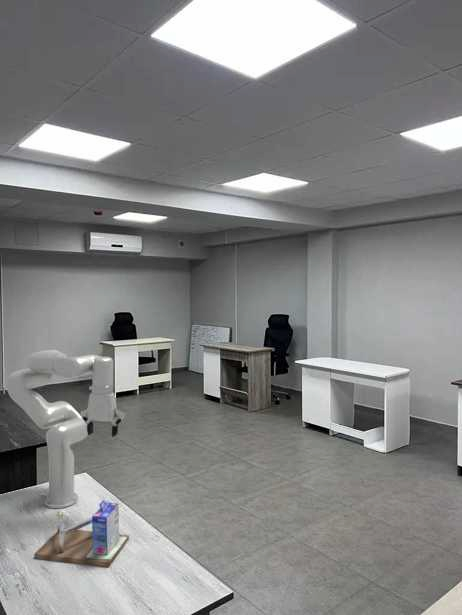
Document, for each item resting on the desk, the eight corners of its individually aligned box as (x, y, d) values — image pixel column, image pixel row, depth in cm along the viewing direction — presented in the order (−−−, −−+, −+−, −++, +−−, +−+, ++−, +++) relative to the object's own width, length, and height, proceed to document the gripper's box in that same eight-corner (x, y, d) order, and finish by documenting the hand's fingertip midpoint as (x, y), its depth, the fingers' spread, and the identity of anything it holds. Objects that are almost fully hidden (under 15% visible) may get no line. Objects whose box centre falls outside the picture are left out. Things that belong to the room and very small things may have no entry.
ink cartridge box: (104, 537, 155) (104, 495, 154) (119, 538, 154) (120, 496, 154) (91, 553, 145) (91, 508, 145) (107, 555, 144) (108, 510, 144)
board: (34, 558, 146) (34, 552, 146) (61, 532, 161) (61, 526, 161) (109, 567, 142) (109, 561, 142) (128, 539, 157) (128, 534, 157)
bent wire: (37, 550, 147) (37, 529, 147) (58, 530, 160) (58, 510, 160) (81, 555, 145) (81, 534, 144) (99, 534, 157) (99, 514, 157)
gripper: (76, 390, 171) (76, 436, 172) (120, 393, 168) (120, 439, 169) (85, 386, 179) (85, 430, 179) (128, 389, 176) (127, 433, 177)
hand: (102, 434), depth 174 cm, fingers open, 9 cm apart
